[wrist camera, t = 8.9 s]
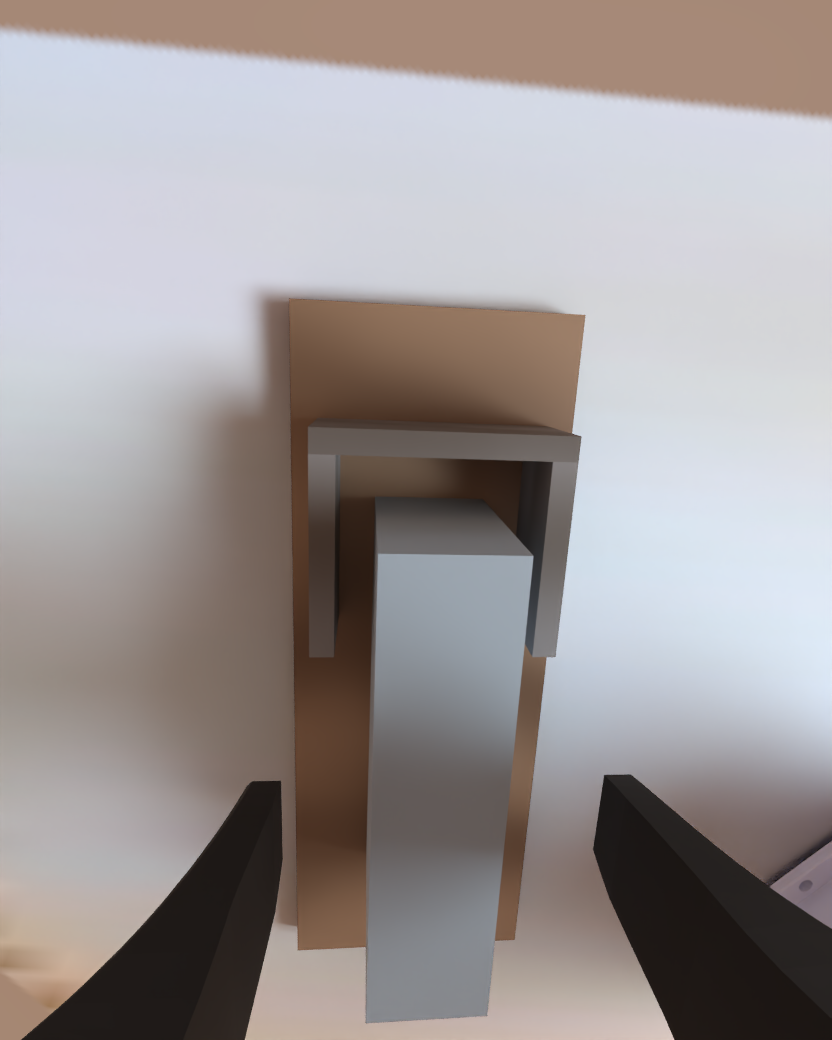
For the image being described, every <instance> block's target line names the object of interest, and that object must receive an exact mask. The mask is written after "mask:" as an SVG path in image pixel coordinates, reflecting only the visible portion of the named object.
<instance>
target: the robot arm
mask: <svg viewBox="0 0 832 1040" xmlns="http://www.w3.org/2000/svg"><path fill="white" fill-rule="evenodd" d="M593 850H594V854H595V857H596V860H597V863H598V866H599V869H600V872H601V875H602V878H603V881H604V884H605V887H606V890H607V892H608V895H609V898H610V900H611V903H612V905H613V907H614V909H615V912H616V914H617V916H618V918H619V920H620V922H621V925H622V927H623V929H624V931H625V933H626V935H627V938H628V940H629V942H630V944H631V946H632V948H633V950H634V952H635V955H636V957H637V959H638V961H639V963H640V965H641V967H642V969H643V972H644V974H645V976H646V978H647V980H648V982H649V984H650V986H651V989H652V991H653V993H654V995H655V997H656V999H657V1001H658V1003H659V1006H660V1008H661V1010H662V1012H663V1014H664V1016H665V1019H666V1021H667V1023H668V1026H669V1028H670V1030H671V1033H672V1035H673V1037H674V1040H832V841H831V842H829V843H828V844H827V845H825V846H824V847H822V848H821V849H820V850H818V851H817V852H816V853H814V854H813V855H812V856H810V857H809V858H807V859H806V860H805V861H803V862H802V863H801V864H799V865H798V866H797V867H795V868H794V869H792V870H791V871H790V872H788V873H787V874H786V875H784V876H783V877H782V878H780V879H779V880H777V881H776V882H775V883H773V884H772V885H771V886H770V887H769V886H767V885H766V884H765V883H763V882H762V881H761V880H759V879H758V878H757V877H755V876H754V875H753V874H751V873H750V872H749V871H747V870H746V869H745V868H743V867H742V866H741V865H739V864H738V863H737V862H735V861H734V860H733V859H732V858H730V857H729V856H728V855H727V854H725V853H724V852H723V851H721V850H720V849H719V848H718V847H716V846H715V845H714V844H713V843H712V842H710V841H709V840H708V839H707V838H705V837H704V836H703V835H702V834H701V833H699V832H698V831H697V830H696V829H695V828H693V827H692V826H691V825H690V824H689V823H687V822H686V821H685V820H684V819H683V818H682V817H680V816H679V815H678V814H677V813H676V812H674V811H673V810H672V809H671V808H670V807H669V806H667V805H666V804H665V803H664V802H663V801H662V800H660V799H659V798H658V797H657V796H656V795H655V794H653V793H652V792H651V791H650V790H649V789H648V788H646V787H645V786H644V785H643V784H642V783H640V782H639V781H638V780H637V779H635V778H634V777H633V776H632V775H604V781H603V787H602V794H601V801H600V807H599V814H598V821H597V827H596V834H595V840H594V847H593ZM282 859H283V858H282V810H281V781H253V782H251V783H250V784H249V785H248V786H247V787H246V788H245V790H244V792H243V794H242V795H241V797H240V798H239V800H238V802H237V803H236V805H235V806H234V808H233V809H232V811H231V812H230V814H229V816H228V817H227V818H226V820H225V821H224V823H223V824H222V826H221V827H220V829H219V830H218V832H217V833H216V834H215V836H214V837H213V838H212V840H211V841H210V843H209V844H208V845H207V847H206V848H205V849H204V851H203V852H202V853H201V855H200V856H199V858H198V859H197V860H196V862H195V863H194V864H193V865H192V867H191V868H190V869H189V871H188V872H187V873H186V874H185V875H184V877H183V878H182V879H181V880H180V882H179V883H178V884H177V885H176V887H175V888H174V889H173V890H172V891H171V893H170V894H169V895H168V896H167V898H166V899H165V900H164V901H163V902H162V904H161V905H160V906H159V907H158V908H157V909H156V910H155V912H154V913H153V914H152V915H151V916H150V917H149V918H148V919H147V921H146V922H145V923H144V924H143V925H142V926H141V927H140V928H139V929H138V930H137V931H136V933H135V934H134V935H133V936H132V937H131V938H130V939H129V940H128V941H127V942H126V943H125V944H124V945H123V946H122V947H121V948H120V949H119V950H118V951H117V952H116V953H115V954H114V955H113V956H112V957H111V958H110V959H109V960H108V961H107V962H106V963H105V964H104V965H103V966H102V967H101V968H100V969H99V970H98V971H97V972H96V973H95V974H94V975H93V976H92V977H91V978H90V979H89V980H88V981H87V982H86V983H85V984H84V985H83V986H82V987H81V988H80V989H78V990H77V991H76V992H75V993H74V994H73V995H72V996H71V997H70V998H69V999H68V1000H67V1001H65V1002H64V1003H63V1004H62V1005H61V1006H60V1007H59V1008H57V1009H56V1010H55V1011H54V1012H53V1013H52V1014H50V1015H49V1016H48V1017H47V1018H46V1019H45V1020H44V1021H42V1022H41V1023H40V1024H39V1025H38V1026H37V1027H35V1028H34V1029H33V1030H32V1031H31V1032H30V1033H28V1034H27V1035H26V1036H25V1037H24V1038H23V1039H22V1040H245V1036H246V1032H247V1028H248V1023H249V1019H250V1015H251V1011H252V1007H253V1003H254V998H255V994H256V990H257V986H258V982H259V978H260V973H261V969H262V965H263V961H264V957H265V953H266V948H267V944H268V940H269V936H270V932H271V927H272V923H273V919H274V914H275V909H276V902H277V895H278V889H279V881H280V874H281V866H282Z"/></svg>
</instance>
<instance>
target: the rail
mask: <svg viewBox="0 0 832 1040" xmlns="http://www.w3.org/2000/svg"><path fill="white" fill-rule="evenodd" d="M533 557H534V556H533V555H532V554H531V553H530V551H529V550H528V549H527V548H526V547H525V546H524V545H523V544H522V543H521V541H520V540H519V539H518V538H517V537H516V536H515V535H514V534H513V532H512V531H511V530H510V529H509V528H508V527H507V526H506V525H505V524H504V522H503V521H502V520H501V519H500V518H499V517H498V516H497V515H496V513H495V512H494V511H493V510H492V509H491V508H490V507H489V506H488V504H487V503H486V502H485V501H484V500H483V499H460V498H418V497H376V496H375V519H374V560H373V601H372V641H371V682H370V723H369V764H368V805H367V846H366V1023H379V1022H395V1021H411V1020H428V1019H444V1018H460V1017H477V1016H487V1012H488V1002H489V992H490V983H491V973H492V963H493V953H494V943H495V933H496V923H497V913H498V903H499V893H500V884H501V874H502V864H503V854H504V844H505V834H506V824H507V814H508V804H509V794H510V784H511V775H512V765H513V755H514V745H515V735H516V725H517V715H518V705H519V695H520V685H521V675H522V666H523V656H524V646H525V636H526V626H527V616H528V606H529V596H530V586H531V576H532V566H533Z"/></svg>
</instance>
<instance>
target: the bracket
mask: <svg viewBox="0 0 832 1040" xmlns="http://www.w3.org/2000/svg"><path fill="white" fill-rule="evenodd" d="M584 322H585V315H575V314H557V313H539V312H521V311H503V310H486V309H468V308H450V307H432V306H414V305H396V304H378V303H360V302H342V301H324V300H307V299H289V326H290V401H291V476H292V551H293V626H294V701H295V776H296V851H297V925H298V950H313V949H334V948H354V947H366V846H367V805H368V764H369V723H370V682H371V641H372V601H373V560H374V519H375V496H376V497H418V498H460V499H483V500H484V501H485V502H486V503H487V504H488V506H489V507H490V508H491V509H492V510H493V511H494V512H495V513H496V515H497V516H498V517H499V518H500V519H501V520H502V521H503V522H504V524H505V525H506V526H507V527H508V528H509V529H510V530H511V531H512V532H513V534H514V535H515V536H516V537H517V538H518V539H519V540H520V541H521V543H522V544H523V545H524V546H525V547H526V548H527V549H528V550H529V551H530V553H531V554H532V555H533V556H534V557H533V566H532V576H531V586H530V596H529V606H528V616H527V626H526V636H525V646H524V656H523V666H522V675H521V685H520V695H519V705H518V715H517V725H516V735H515V745H514V755H513V765H512V775H511V784H510V794H509V804H508V814H507V824H506V834H505V844H504V854H503V864H502V874H501V884H500V893H499V903H498V913H497V923H496V933H495V941H500V940H514V939H515V930H516V921H517V913H518V904H519V895H520V886H521V877H522V869H523V860H524V851H525V842H526V833H527V825H528V816H529V807H530V798H531V789H532V780H533V772H534V763H535V754H536V745H537V736H538V728H539V719H540V710H541V701H542V692H543V684H544V675H545V666H546V657H555V656H556V647H557V639H558V630H559V622H560V613H561V605H562V596H563V588H564V579H565V571H566V562H567V554H568V545H569V537H570V528H571V520H572V512H573V503H574V495H575V486H576V478H577V469H578V461H579V452H580V444H581V436H578V435H574V434H572V428H573V419H574V410H575V402H576V393H577V384H578V375H579V366H580V357H581V349H582V340H583V331H584Z"/></svg>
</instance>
